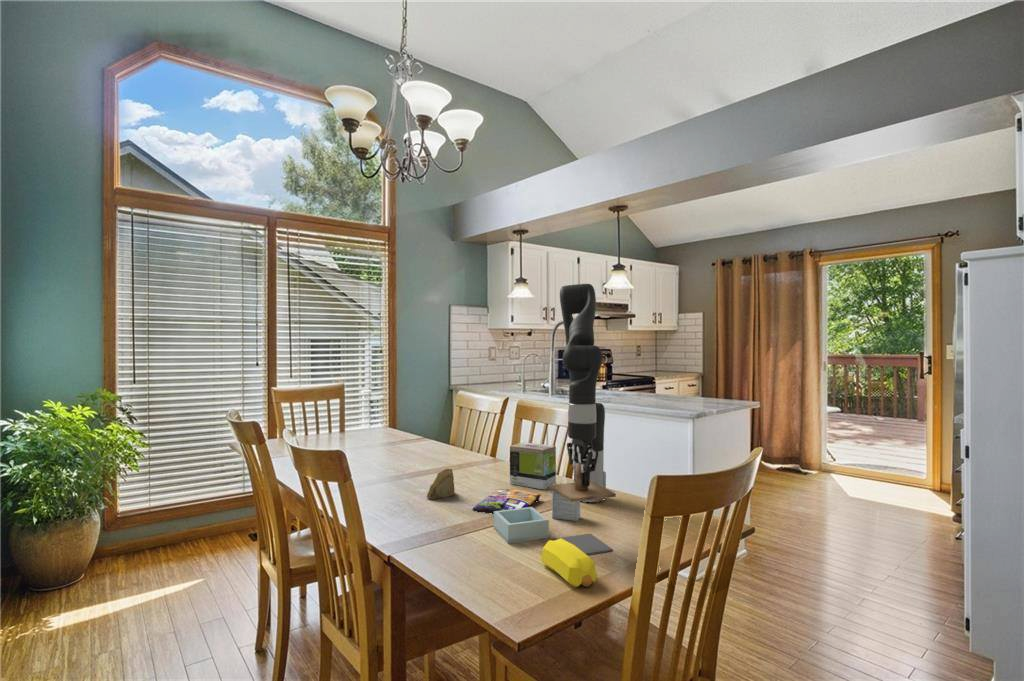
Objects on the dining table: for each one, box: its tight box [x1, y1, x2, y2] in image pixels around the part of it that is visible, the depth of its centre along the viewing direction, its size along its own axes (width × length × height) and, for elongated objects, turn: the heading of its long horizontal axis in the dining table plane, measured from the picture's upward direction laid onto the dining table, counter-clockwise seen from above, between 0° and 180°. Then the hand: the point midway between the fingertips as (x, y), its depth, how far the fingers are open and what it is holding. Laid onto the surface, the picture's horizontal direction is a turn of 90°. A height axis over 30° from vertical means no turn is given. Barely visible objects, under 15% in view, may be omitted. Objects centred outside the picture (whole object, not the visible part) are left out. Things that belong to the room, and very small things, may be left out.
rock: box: [426, 468, 456, 500], centre depth 187 cm, size 11×9×10 cm
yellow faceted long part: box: [540, 537, 597, 588], centre depth 126 cm, size 18×7×8 cm
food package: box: [472, 488, 542, 515], centre depth 176 cm, size 22×25×4 cm
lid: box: [549, 462, 617, 502], centre depth 143 cm, size 13×13×8 cm
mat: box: [551, 532, 614, 556], centre depth 143 cm, size 12×12×1 cm
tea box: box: [509, 441, 557, 490], centre depth 202 cm, size 15×10×15 cm, turn 58°
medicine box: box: [551, 490, 581, 522], centre depth 165 cm, size 8×4×9 cm, turn 71°
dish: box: [493, 506, 550, 545], centre depth 152 cm, size 12×12×5 cm
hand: (581, 484), depth 143 cm, fingers closed on lid, 3 cm apart
